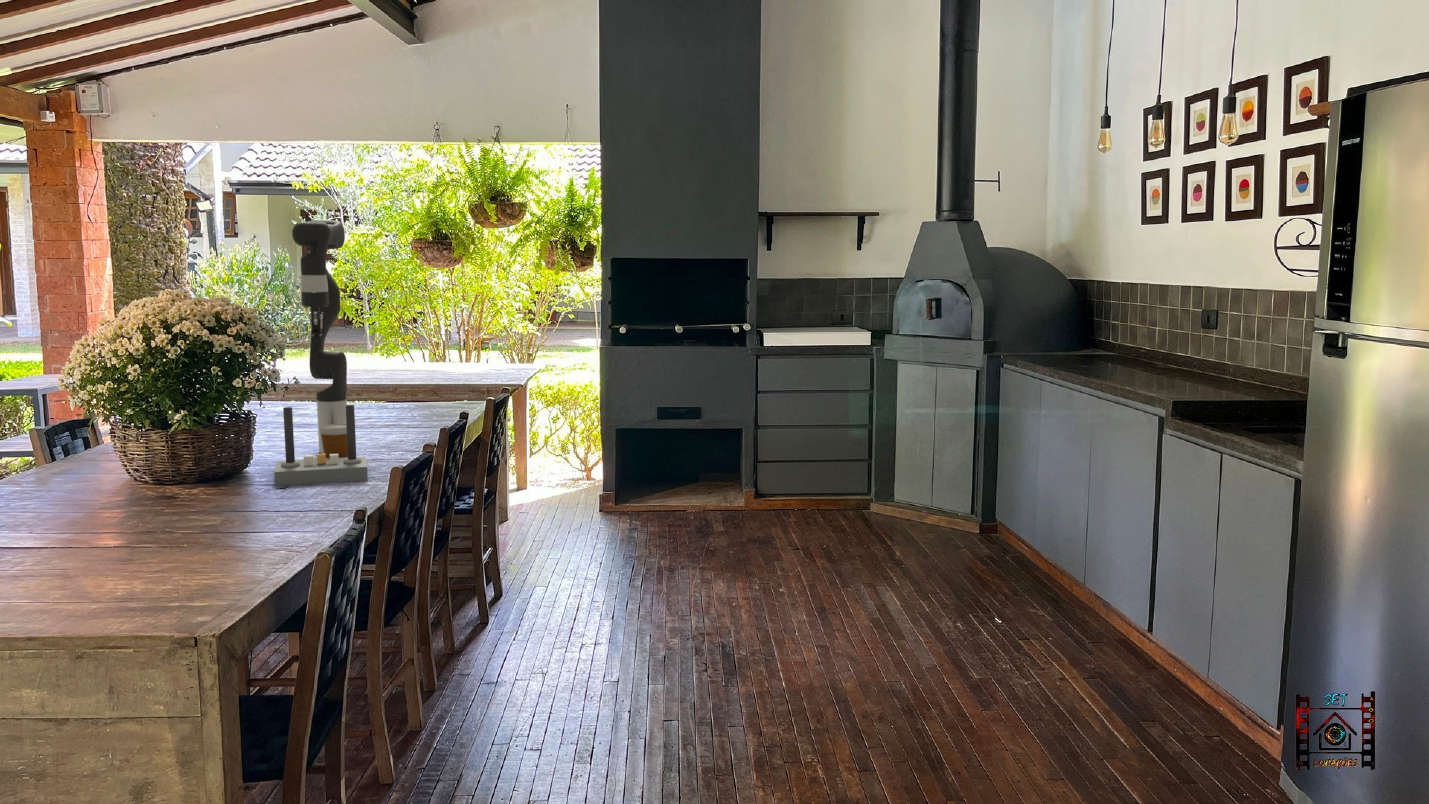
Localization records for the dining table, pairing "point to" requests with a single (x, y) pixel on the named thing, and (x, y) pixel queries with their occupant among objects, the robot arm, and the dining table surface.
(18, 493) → the dining table surface
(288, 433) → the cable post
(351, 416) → the cable post
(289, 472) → the panel
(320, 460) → the orange small block
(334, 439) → the disposable coffee cup
